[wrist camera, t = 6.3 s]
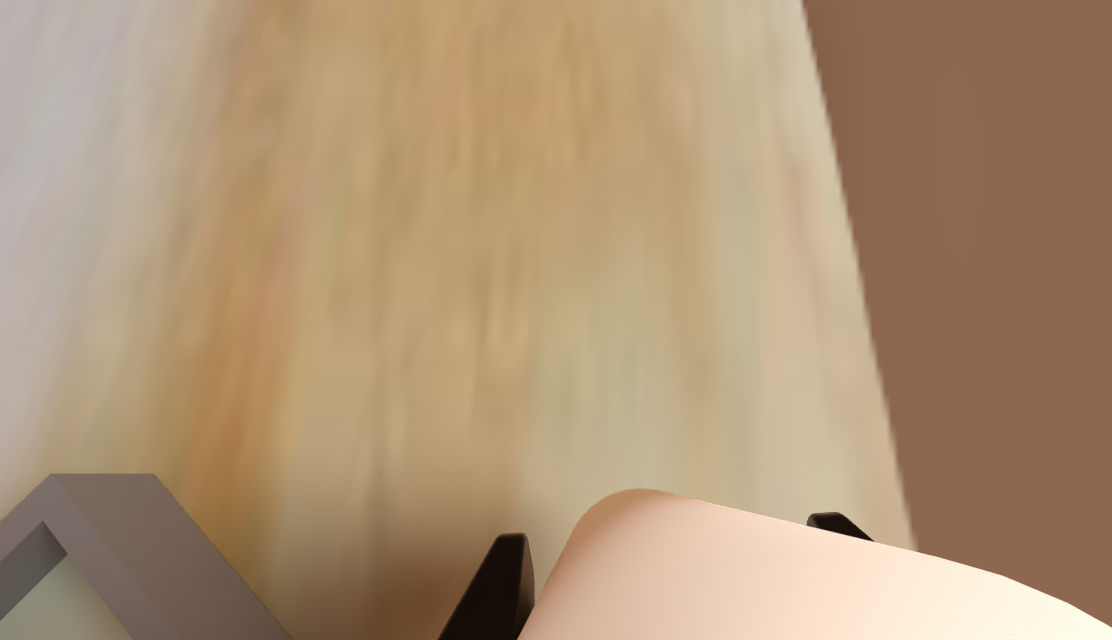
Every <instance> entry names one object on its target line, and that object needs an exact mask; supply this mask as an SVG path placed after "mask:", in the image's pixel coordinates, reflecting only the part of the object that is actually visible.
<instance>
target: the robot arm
mask: <svg viewBox="0 0 1112 640" xmlns="http://www.w3.org/2000/svg"><path fill="white" fill-rule="evenodd" d="M807 526H809V527H813V528H817V529H822V530H826V531H830V532H834V533H838V534H843V535H847V536H851V537H855V538H859V539H864V540H868V541H872V542H875V541H873V540H872V539H871V538H870V537H869V536H867V535H866V534H865V533H864V532H863V531H862V530H860V529H859V528H858V527H857V526H856V525H855V524H853V523H852V522H851V521H850V520H849V519H848V518H846V517H845V516H844V515H842V514H840V513H838V512H827V513H814V514H811V515H810V516H809V518H808V520H807ZM533 608H534V572H533V566H532V560H531V555H530V549H529V544H528V539H527V536H526V534H524V533H508V534H501V535H499V536H498V537H497V538H496V539H495V541H494V543H493V544H492V546H491V548H490V549H489V551H488V553H487V555H486V556H485V558H484V560H483V562H482V563H481V565H480V567H479V568H478V570H477V572H476V574H475V575H474V577H473V579H472V581H471V582H470V584H469V586H468V587H467V589H466V591H465V593H464V594H463V596H462V598H461V600H460V601H459V603H458V605H457V606H456V608H455V610H454V612H453V613H452V615H451V617H450V619H449V620H448V622H447V624H446V625H445V627H444V629H443V631H442V632H441V634H440V636H439V638H438V639H437V640H517V639H518V637H519V635H520V633H521V631H522V629H523V627H524V625H525V623H526V622H527V620H528V618H529V616H530V614H531V612H532V610H533Z"/></svg>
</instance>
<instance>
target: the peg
mask: <svg viewBox="0 0 1112 640" xmlns="http://www.w3.org/2000/svg"><path fill="white" fill-rule="evenodd" d="M517 640H1112V628H1111V627H1110V626H1108V625H1106V624H1104V623H1102V622H1101V621H1099V620H1097V619H1095V618H1093V617H1092V616H1090V615H1088V614H1086V613H1084V612H1083V611H1081V610H1079V609H1077V608H1076V607H1074V606H1072V605H1070V604H1068V603H1066V602H1064V601H1061V600H1059V599H1057V598H1054V597H1052V596H1049V595H1047V594H1045V593H1042V592H1040V591H1038V590H1035V589H1033V588H1030V587H1028V586H1026V585H1023V584H1021V583H1018V582H1016V581H1014V580H1011V579H1009V578H1007V577H1004V576H1002V575H998V574H995V573H991V572H987V571H984V570H981V569H977V568H974V567H970V566H967V565H963V564H960V563H956V562H953V561H949V560H946V559H942V558H938V557H935V556H931V555H926V554H922V553H918V552H914V551H910V550H905V549H901V548H897V547H893V546H889V545H885V544H880V543H876V542H872V541H868V540H864V539H859V538H855V537H851V536H847V535H843V534H838V533H834V532H830V531H826V530H822V529H817V528H813V527H809V526H805V525H801V524H797V523H792V522H788V521H784V520H780V519H776V518H771V517H767V516H763V515H759V514H755V513H750V512H746V511H742V510H738V509H734V508H729V507H725V506H721V505H717V504H713V503H709V502H704V501H700V500H696V499H692V498H688V497H683V496H679V495H675V494H671V493H667V492H662V491H658V490H652V489H630V490H624V491H621V492H617V493H614V494H612V495H610V496H607V497H606V498H604V499H602V500H600V501H599V502H597V503H596V504H595V505H594V506H592V507H591V508H590V509H589V510H588V511H587V512H586V513H585V514H584V515H583V516H582V518H581V519H580V520H579V522H578V523H577V525H576V526H575V528H574V530H573V532H572V534H571V535H570V537H569V539H568V541H567V543H566V545H565V547H564V549H563V551H562V553H561V555H560V557H559V559H558V561H557V563H556V565H555V567H554V569H553V571H552V573H551V575H550V577H549V578H548V580H547V582H546V584H545V586H544V588H543V590H542V592H541V594H540V596H539V598H538V600H537V602H536V604H535V606H534V608H533V610H532V612H531V614H530V616H529V618H528V620H527V622H526V623H525V625H524V627H523V629H522V631H521V633H520V635H519V637H518V639H517Z"/></svg>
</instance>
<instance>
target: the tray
mask: <svg viewBox="0 0 1112 640" xmlns="http://www.w3.org/2000/svg"><path fill="white" fill-rule="evenodd" d="M0 640H292V639H291V638H290V637H289V635H288V634H287V633H286V632H285V631H284V629H283V628H282V627H281V626H280V625H279V623H278V622H277V621H276V620H275V619H274V617H273V616H272V615H271V614H270V613H269V611H268V610H267V609H266V608H265V607H264V605H263V604H262V603H261V602H260V601H259V599H258V598H257V597H256V596H255V595H254V593H253V592H252V591H251V590H250V589H249V587H248V586H247V585H246V584H245V583H244V581H243V580H242V579H241V578H240V577H239V575H238V574H237V573H236V572H235V571H234V570H233V568H232V567H231V566H230V565H229V564H228V562H227V561H226V560H225V559H224V558H223V556H222V555H221V554H220V553H219V552H218V550H217V549H216V548H215V547H214V546H213V544H212V543H211V542H210V541H209V540H208V538H207V537H206V536H205V535H204V534H203V532H202V531H201V530H200V529H199V528H198V526H197V525H196V524H195V523H194V522H193V520H192V519H191V518H190V517H189V516H188V514H187V513H186V512H185V511H184V510H183V508H182V507H181V506H180V505H179V504H178V502H177V501H176V500H175V499H174V498H173V496H172V495H171V494H170V493H169V492H168V490H167V489H166V488H165V487H164V486H163V484H162V483H161V482H160V481H159V480H158V478H157V477H156V476H155V475H154V474H50V475H49V476H48V477H47V478H46V479H45V480H44V481H43V482H42V483H40V484H39V485H38V486H37V487H36V488H35V489H34V490H33V491H32V492H31V493H30V494H29V495H28V496H27V497H26V498H25V499H24V500H23V501H22V502H21V503H20V504H19V505H18V506H17V507H15V508H14V509H13V510H12V511H11V512H10V513H9V514H8V515H7V516H6V517H5V518H4V519H3V520H2V521H1V522H0Z"/></svg>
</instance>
